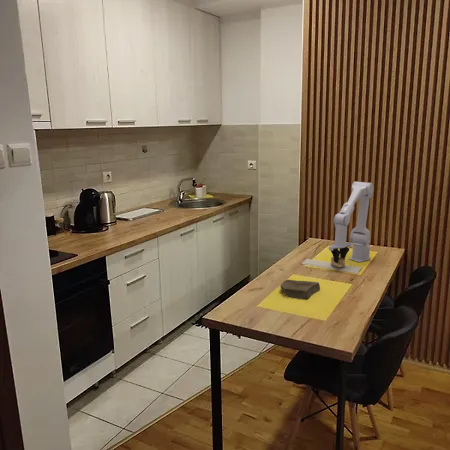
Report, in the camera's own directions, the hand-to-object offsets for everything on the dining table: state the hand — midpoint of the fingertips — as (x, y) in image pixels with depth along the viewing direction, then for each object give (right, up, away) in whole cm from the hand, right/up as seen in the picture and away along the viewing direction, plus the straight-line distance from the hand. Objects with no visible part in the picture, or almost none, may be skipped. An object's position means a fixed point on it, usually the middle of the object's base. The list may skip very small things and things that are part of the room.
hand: (339, 261), depth 222 cm
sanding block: (0, -3, +1) cm, 3 cm away
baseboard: (-4, -4, +5) cm, 7 cm away
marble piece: (-26, -12, -30) cm, 41 cm away
